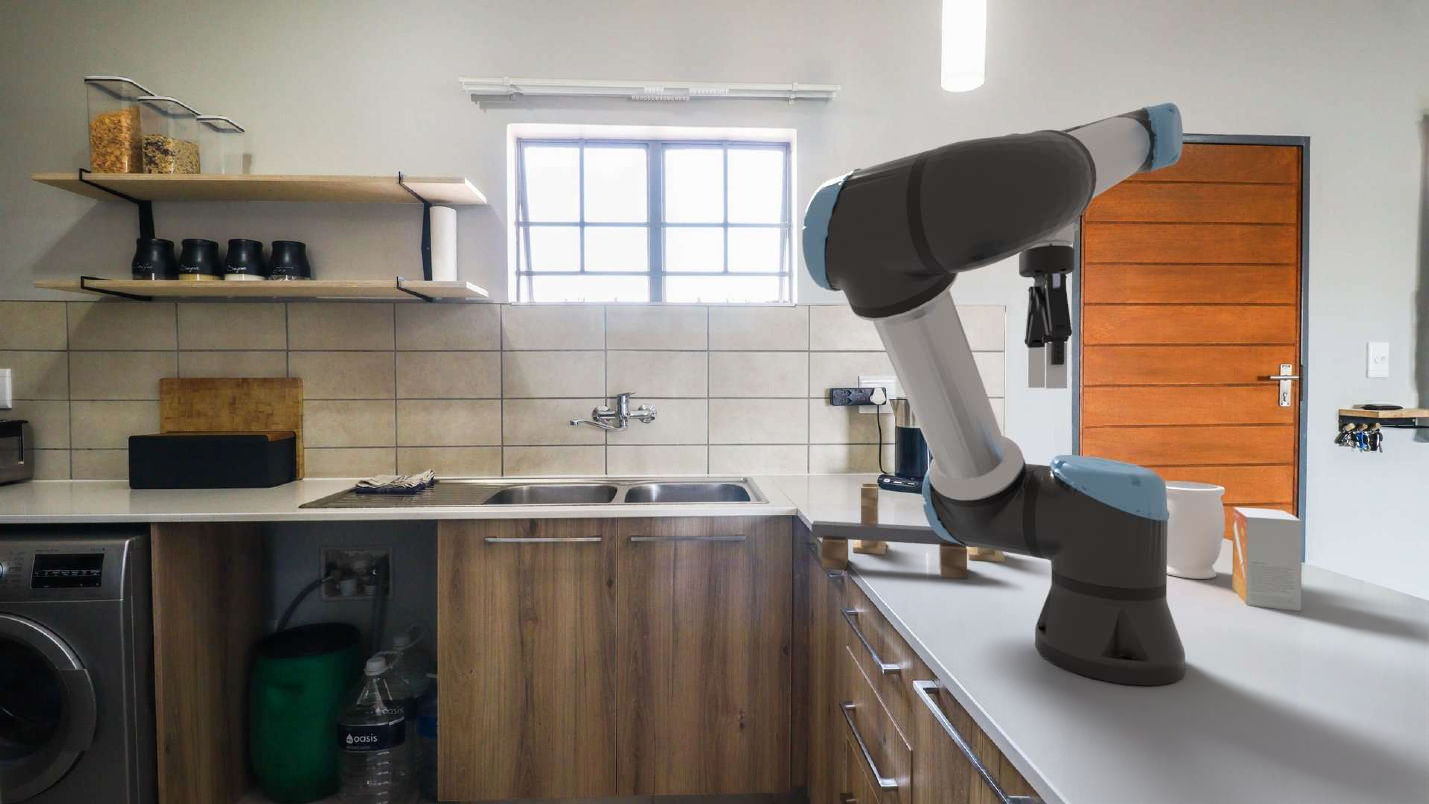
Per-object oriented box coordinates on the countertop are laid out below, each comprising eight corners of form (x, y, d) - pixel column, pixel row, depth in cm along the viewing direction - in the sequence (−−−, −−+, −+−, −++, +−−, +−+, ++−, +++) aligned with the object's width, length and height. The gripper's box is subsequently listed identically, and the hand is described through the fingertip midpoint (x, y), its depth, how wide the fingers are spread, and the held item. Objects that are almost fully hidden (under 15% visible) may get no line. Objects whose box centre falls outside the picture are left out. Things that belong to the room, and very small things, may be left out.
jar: (1151, 576, 107) (1151, 487, 106) (1143, 561, 116) (1143, 478, 116) (1231, 585, 102) (1232, 491, 102) (1216, 568, 111) (1217, 482, 111)
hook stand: (998, 550, 124) (998, 486, 124) (1004, 561, 117) (1004, 493, 116) (856, 542, 132) (855, 481, 132) (853, 552, 124) (852, 488, 124)
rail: (976, 542, 111) (976, 528, 111) (978, 546, 108) (978, 532, 108) (814, 533, 119) (814, 520, 119) (811, 537, 116) (811, 524, 116)
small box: (1231, 589, 100) (1232, 506, 100) (1283, 595, 97) (1285, 509, 97) (1245, 605, 93) (1246, 516, 93) (1302, 612, 90) (1303, 520, 90)
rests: (963, 567, 113) (963, 539, 113) (966, 578, 107) (966, 549, 107) (826, 558, 120) (826, 531, 120) (821, 568, 114) (821, 540, 113)
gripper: (1097, 227, 85) (1096, 388, 85) (1055, 261, 109) (1054, 387, 109) (1035, 232, 87) (1034, 389, 87) (1006, 264, 111) (1006, 387, 111)
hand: (1045, 388), depth 98 cm, fingers open, 13 cm apart
